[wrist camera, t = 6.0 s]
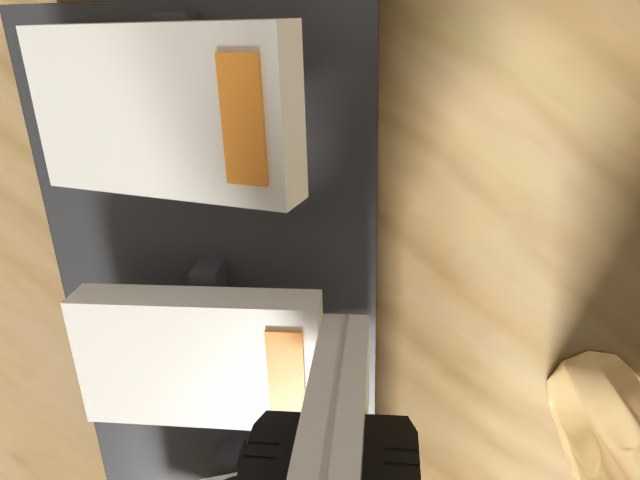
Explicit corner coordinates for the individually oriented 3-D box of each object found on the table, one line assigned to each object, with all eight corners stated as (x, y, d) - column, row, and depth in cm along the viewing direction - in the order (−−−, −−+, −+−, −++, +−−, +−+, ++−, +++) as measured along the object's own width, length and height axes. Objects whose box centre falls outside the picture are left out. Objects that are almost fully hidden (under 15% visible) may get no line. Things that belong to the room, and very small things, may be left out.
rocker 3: (84, 173, 16) (47, 186, 15) (54, 23, 15) (11, 26, 13) (308, 197, 14) (284, 215, 12) (301, 17, 12) (273, 19, 11)
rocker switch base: (145, 470, 25) (104, 555, 21) (56, 5, 18) (-32, 4, 14) (372, 479, 24) (373, 570, 20) (377, -6, 17) (379, -9, 13)
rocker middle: (106, 395, 18) (86, 424, 17) (82, 283, 16) (58, 305, 15) (325, 407, 17) (321, 437, 16) (322, 289, 16) (316, 313, 14)
